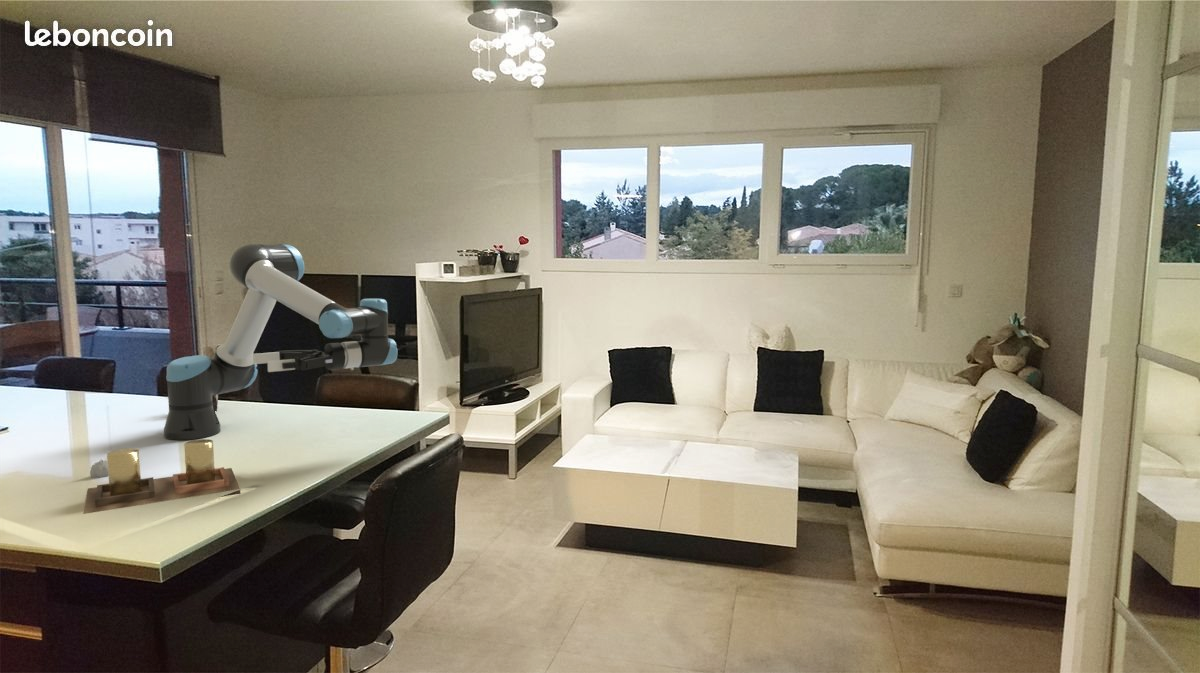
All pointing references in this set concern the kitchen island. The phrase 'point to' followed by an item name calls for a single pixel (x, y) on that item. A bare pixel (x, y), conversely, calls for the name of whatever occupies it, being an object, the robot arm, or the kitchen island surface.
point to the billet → (124, 471)
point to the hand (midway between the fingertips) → (260, 362)
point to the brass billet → (199, 461)
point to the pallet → (160, 491)
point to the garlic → (99, 469)
